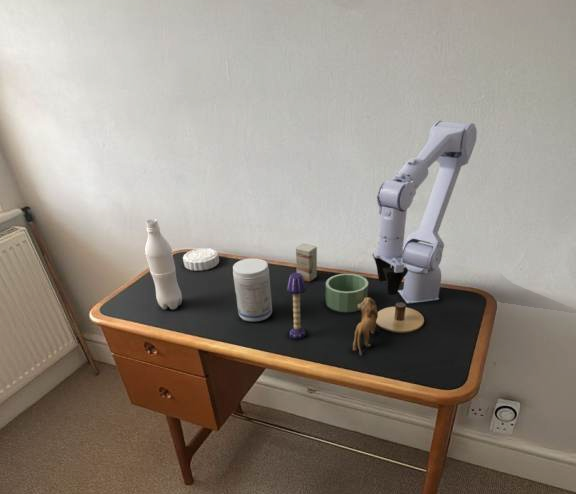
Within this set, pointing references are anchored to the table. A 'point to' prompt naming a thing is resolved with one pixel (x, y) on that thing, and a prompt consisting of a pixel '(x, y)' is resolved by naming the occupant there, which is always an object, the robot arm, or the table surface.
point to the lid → (399, 319)
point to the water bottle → (162, 267)
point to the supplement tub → (252, 289)
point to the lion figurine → (366, 322)
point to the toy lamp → (296, 303)
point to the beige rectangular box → (307, 261)
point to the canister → (346, 292)
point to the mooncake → (201, 259)
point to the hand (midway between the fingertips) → (387, 287)
